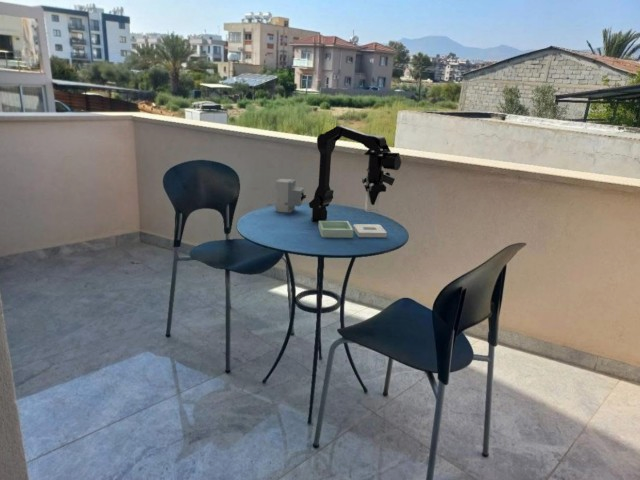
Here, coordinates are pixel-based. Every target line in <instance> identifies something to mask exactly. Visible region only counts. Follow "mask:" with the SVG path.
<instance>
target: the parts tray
mask: <svg viewBox="0 0 640 480" xmlns="http://www.w3.org/2000/svg"><path fill="white" fill-rule="evenodd" d="M318 231H319V233H320V236H321V238H339V239H340V238H346V239H348V238H349V239H351V238H352V239H353V238H354V232H355V231H354V229H353V227H352V225H351V224H350V222H349V220H326V221H319V222H318Z"/></svg>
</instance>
